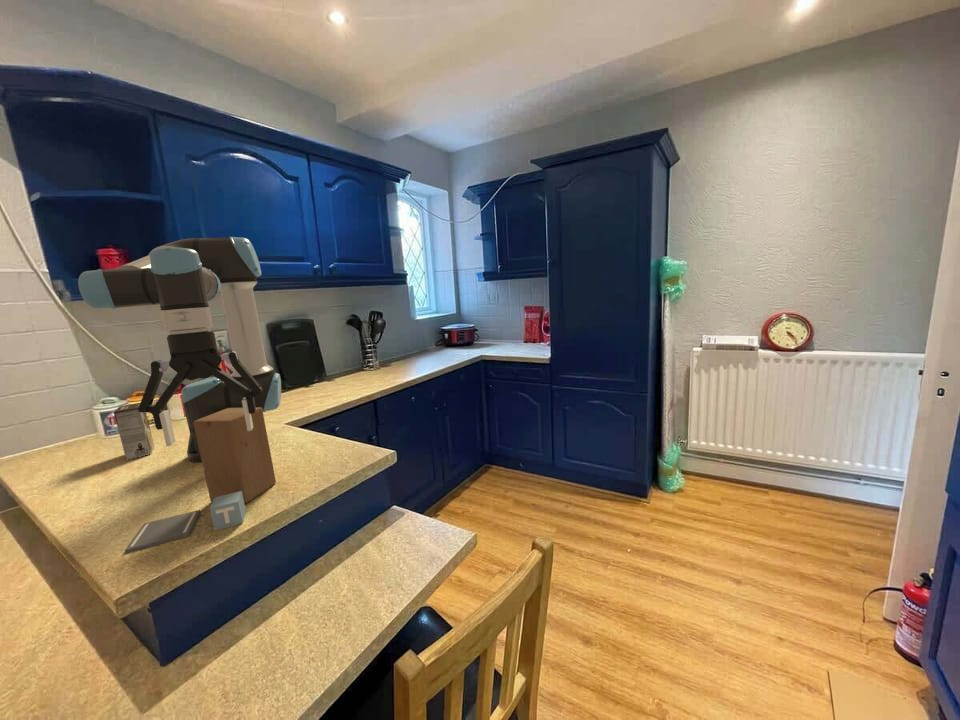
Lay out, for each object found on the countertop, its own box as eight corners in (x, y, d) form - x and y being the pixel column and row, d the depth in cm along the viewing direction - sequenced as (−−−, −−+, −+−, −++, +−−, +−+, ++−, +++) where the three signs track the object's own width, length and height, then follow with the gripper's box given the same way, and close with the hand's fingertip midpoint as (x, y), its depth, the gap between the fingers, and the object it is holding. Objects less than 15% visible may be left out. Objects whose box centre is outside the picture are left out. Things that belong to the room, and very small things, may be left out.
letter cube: (219, 518, 84) (214, 497, 83) (246, 511, 86) (241, 490, 85) (214, 531, 79) (209, 508, 79) (242, 523, 81) (238, 501, 81)
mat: (144, 525, 83) (144, 523, 83) (200, 512, 87) (200, 509, 87) (125, 552, 74) (124, 549, 74) (188, 536, 78) (187, 533, 78)
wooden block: (246, 504, 89) (229, 420, 86) (209, 503, 91) (191, 421, 88) (277, 482, 99) (262, 406, 95) (243, 482, 101) (228, 407, 97)
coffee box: (130, 452, 130) (118, 405, 127) (155, 446, 134) (144, 401, 131) (125, 461, 123) (112, 411, 120) (151, 455, 126) (140, 407, 123)
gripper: (97, 340, 67) (126, 457, 71) (261, 324, 77) (279, 428, 80) (116, 338, 74) (142, 444, 78) (264, 323, 84) (281, 419, 87)
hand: (212, 436), depth 79 cm, fingers open, 13 cm apart
